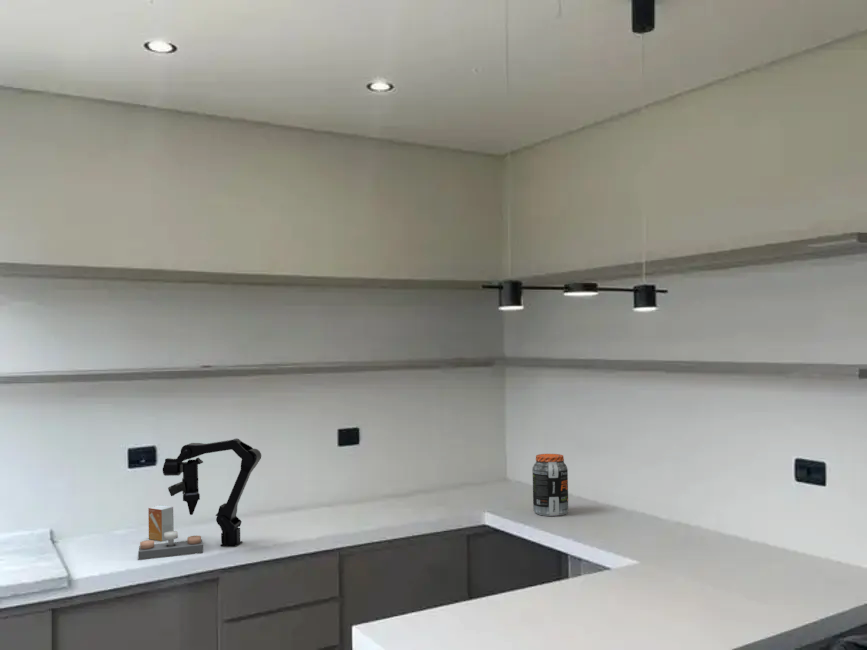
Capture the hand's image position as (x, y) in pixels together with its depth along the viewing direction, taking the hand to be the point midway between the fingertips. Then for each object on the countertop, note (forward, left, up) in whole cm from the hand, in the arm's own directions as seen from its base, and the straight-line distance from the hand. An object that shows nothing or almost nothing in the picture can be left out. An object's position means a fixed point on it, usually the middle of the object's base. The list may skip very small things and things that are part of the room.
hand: (191, 514), depth 301 cm
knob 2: (-5, +8, -12) cm, 15 cm away
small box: (+18, -8, -12) cm, 23 cm away
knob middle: (+2, +12, -9) cm, 15 cm away
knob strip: (+2, +12, -12) cm, 17 cm away
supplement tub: (-139, -67, -12) cm, 155 cm away
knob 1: (+9, +16, -12) cm, 22 cm away
